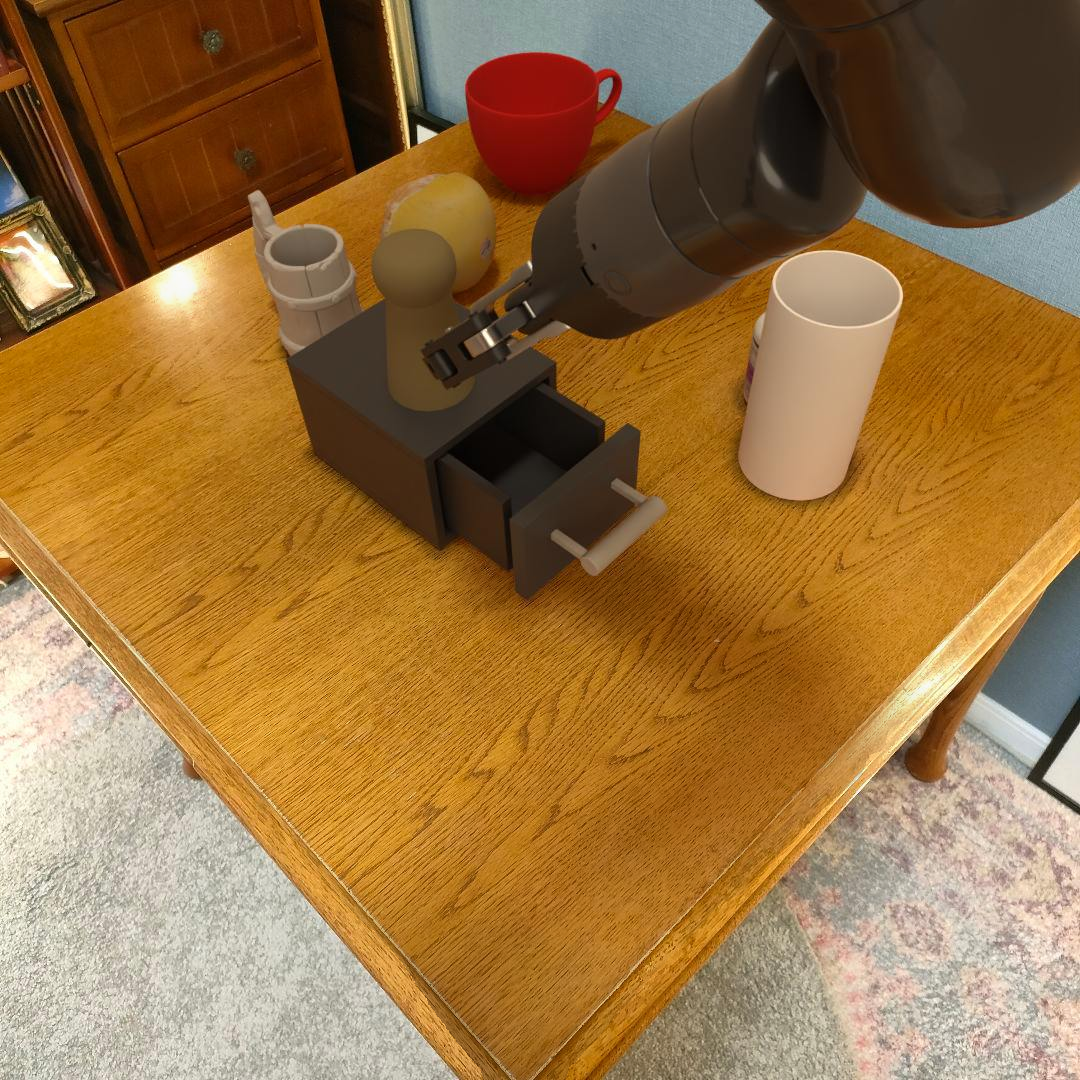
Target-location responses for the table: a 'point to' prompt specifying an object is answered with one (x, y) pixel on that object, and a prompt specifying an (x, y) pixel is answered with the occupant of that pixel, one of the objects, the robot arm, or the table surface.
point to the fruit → (448, 220)
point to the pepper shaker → (417, 314)
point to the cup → (816, 371)
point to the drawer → (545, 489)
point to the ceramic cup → (536, 117)
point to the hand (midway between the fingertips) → (487, 328)
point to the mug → (304, 276)
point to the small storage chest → (396, 417)
